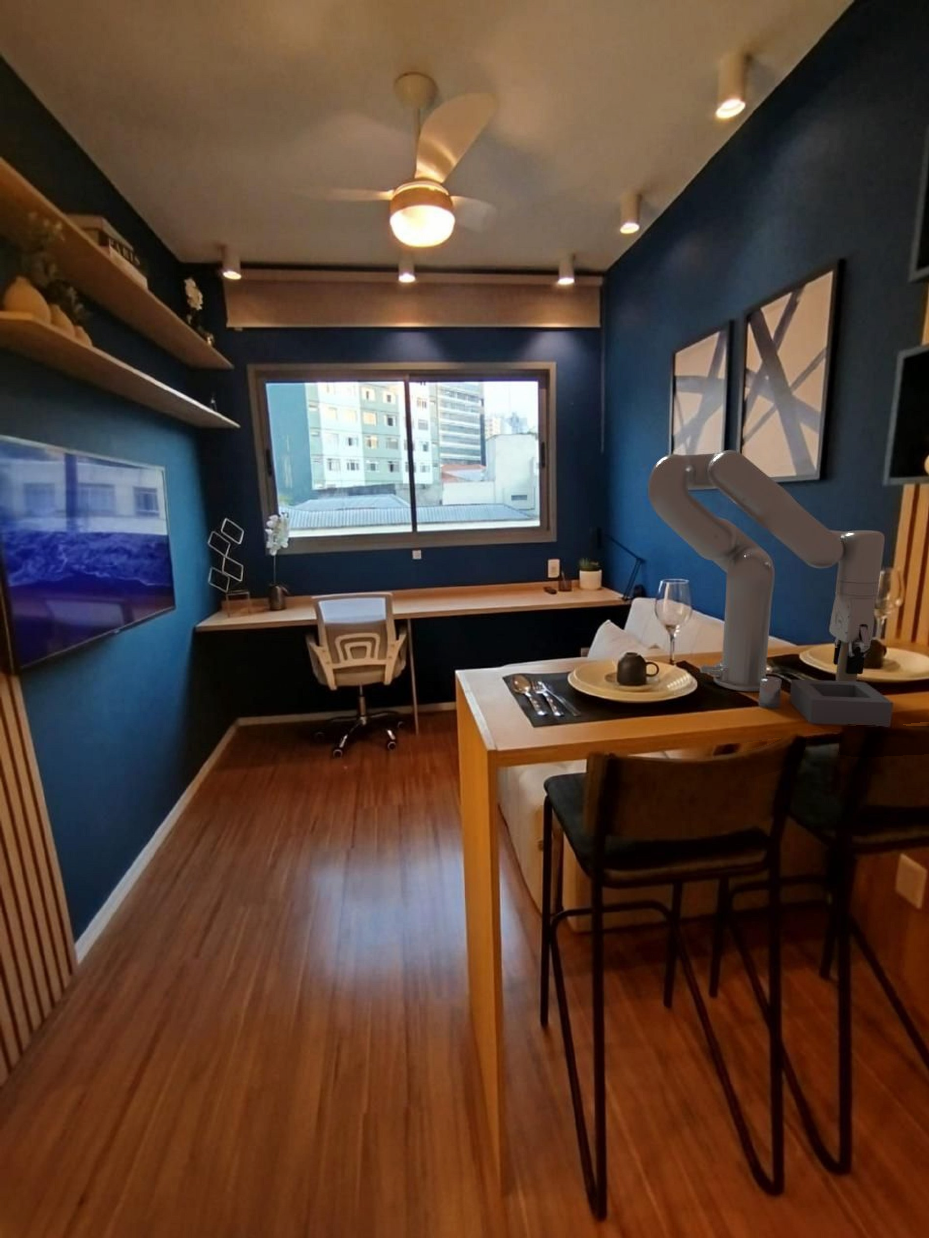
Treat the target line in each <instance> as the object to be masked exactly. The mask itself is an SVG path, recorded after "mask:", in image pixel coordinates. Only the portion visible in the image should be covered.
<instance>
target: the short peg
mask: <svg viewBox="0 0 929 1238" xmlns="http://www.w3.org/2000/svg"><path fill="white" fill-rule="evenodd" d="M781 693H782V679H781V678H779V677H777V676H771V675H770V676H769V675H768V676H767V675H765V676H763V677H761V678H760V690H759V691H758V701H757V702H758V706H759V707H760V708H763V709H768V710H778V709H779V708H780V704H781V703H780V702H781Z"/></svg>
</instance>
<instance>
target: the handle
mask: <svg viewBox="0 0 929 1238" xmlns="http://www.w3.org/2000/svg"><path fill="white" fill-rule="evenodd" d="M853 642H860V639H855V640H854V641H853ZM856 647H859V645H854V649H855V648H856ZM847 656H849V643H844V642H843V641H841V648H840V653H839V658H838V664H837V665H836V670H835V671H836V672H835V681H856V682H857V678H858V675H859V674H847V673H846V672H845V668H846V660H847Z"/></svg>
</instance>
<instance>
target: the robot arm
mask: <svg viewBox="0 0 929 1238" xmlns="http://www.w3.org/2000/svg"><path fill="white" fill-rule="evenodd" d="M647 487H648V498H649V501H650V504H651V506H652V509H653V510H654V512H655V513H656V515H658V516H659V518H660V519H661V520H662V521H664V522H665V524H666V525H668V526H669V527H670V528H671V530H672V531H674V532H675V533H676V534H677V535H678V536H679V537H680V538H681V539H682V540H683V541H684V542H686V543H687V545H689V546H690V547H691V548H692V549H693V550H695V551H694V552H696V553H697V554H698V555H699V556H700V557H701V558H703V559H704V560H705V559H706V560H708V561H713V562H714V563H715V564H716V565H717V566H718V567H720V568H721V570H723V571H724V572H725V573H726V585H725V586H726V587H725V589H726V590H725V607H724V624H723V638H722V657H721V660H718V662H717V663H715V664H714V665H709V664H700V668H699V669H700V670H699V671H700V674H701V673H702V674H707V675H708V676H713V682H714V683H715V684H716V685H718V686H721V687H722V688H725V689H728V690H734V691H741V692H759V690H760V678H761V677H763V676H766V673H767V672H766V671H767V660H768V648H769V635H770V626H771V625H770V624H771V613H772V612H771V608H772V600H773V593H774V592H773V591H774V585H775V567H774V563H773V560H772V558H771V556H770V554H768V552H766V551H765V550H764V549H763V548H762V547H761V546H759V544H758V543H756V542H755V541H754V540H753V539H751V538H750V537H749V536H748V535H747V534H746V533H744V532H743V531H742V529H740V528H739V527H737V526H736V525H735V524H734V523H733V522H731V521H730V520H728V519H726V518H722V517H718V516H717V515H716V514H714V513H713V512H711V511H710V509H708V508H707V507H706V506H705V505H704V504H703V503H702V502H700V501H699V499H697V498H696V497H695V496H693V494H691V492H690V491H693V490H694V491H697V490H699V491H700V490H716V489H717V490H718V491H720V492H721V493H722V494H723V495H724V496H726V497H727V498H728V499H729V500H730V501H731V502H733V503H734V504H735V505H736V506H737V507H739V509H741V510H742V511H743V512H744V513H746V514H747V516H749V517H750V518H751V519H752V520H754V521H755V523H756V524H758V525H759V526H761V527H762V528H764V529H765V530H766V531H768V532H769V533H771V534H772V535H773V536H774V537H775V538H776V539H778V540H779V541H780V542H781V543H782V544H783V545H785V546H786V547H787V548H788V549H789V550H790V551H792V553H794V554H795V555H796V556H797V557H798V558H800V559H801V560H802V561H803V562H805V564H807V565H808V566H809V567H812V568H815V569H827V568H830V567H833V566H834V565H836V564H837V563H838V567H837V573H836V574H837V575H836V584H835V597H834V601H833V606H832V611H831V616H830V617H831V618H830V624H829V630H828V631H829V633H830V634H831V635H832V636H833V637H834V639H835V640H834V651H833V661H832V664H834V665H836V666H837V664H838V658H839V653H840V648H841V641H843V642H844V643H849V656H847V660H846V668H845V672H846V673H847V674H858V675H862V674H863V673H864V666H865V660H866V659H865V658H866V656H867V652H868V651H869V649H870V648H871V641H872V638H873V635H874V627H875V626H874V625H875V611H876V610H875V609H876V608H875V607H876V606H875V605H876V603H875V599H876V598H878V596H879V594H878V593H879V587H880V579H881V572H882V571H881V570H882V563H883V556H884V548H885V547H884V546H885V538H886V537H885V535H884V533H882V532H881V531H879V530H867V529H865V530H861V529H860V530H848V531H843V530H832V529H831V530H830V529H829V528H828V527H826V526H825V525H824V524H822V523H821V522H820V521H819V520H818V519H816V518H815V517H814V516H813V515H812V514H810V513H809V511H808V510H806V509H805V508H804V507H802V506H801V505H800V504H799V503H798V502H797V501H796V500H795V499H794V497H793V496H792V495H791V494H790V493H789V492H788V491H786V489H785V488H784V487H783V486H781V485H780V484H779V483H777V482H776V481H775V480H773V479H772V478H771V477H770V476H769V475H768V474H767V473H765V472H764V471H762V469H760V468H759V467H758V466H757V465H755V464H754V463H753V462H752V461H751V460H750V459H749V458H747V457H746V456H745V455H744V454H742V453H741V452H739V451H737V450H733V449H728V450H723V451H721V452H713V453H712V452H711V453H701V454H676V453H672V454H668V455H665V456H663V457H661V458H660V459H659V460H658V461H657V462H656V463H655V465H654V466H653V468H652V470H651V473H650V476H649V480H648V486H647ZM855 639H860V642H853V641H854V640H855ZM854 645H859V647H856V648H855V649H854Z"/></svg>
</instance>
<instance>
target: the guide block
mask: <svg viewBox="0 0 929 1238" xmlns="http://www.w3.org/2000/svg"><path fill="white" fill-rule="evenodd" d="M789 702H790V704H791V705H793V707H794V708H795V709H796V710H797V712H799V714H800V715H802V717H803V718H804V719H805V720H806V721H807V722H808V723H809V724H811V725H816V724H817V725H834V726H835V725H837V726H848V725H847V724H865V725H876V726H875V727H878V726H884V727H883V728H890V727H891V723H892V722H891V721H892V720H891V719H892V716H893V715H892V714H893V706H894V702H893V701H891V700H890V699H889V698H887V697H886V696H884V695H883V694H882V693H881V692H879V691H878V690H877V689H875V688H874V687H872V686H871V685H870V684H868V683H867V682H866V681H857V680H856V681H836V680H820V679H818V680H816V679H815V680H814V679H812V680H811V679H791V681H790V693H789Z"/></svg>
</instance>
